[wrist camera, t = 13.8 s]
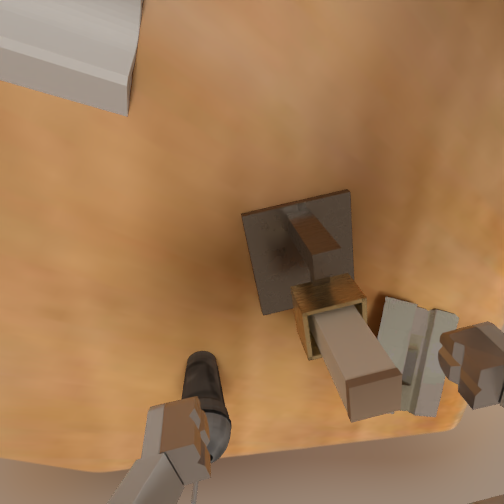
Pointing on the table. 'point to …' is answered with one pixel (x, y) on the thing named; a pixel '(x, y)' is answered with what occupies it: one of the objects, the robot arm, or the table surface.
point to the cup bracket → (304, 259)
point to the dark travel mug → (208, 402)
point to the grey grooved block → (416, 352)
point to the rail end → (357, 363)
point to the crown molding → (72, 48)
